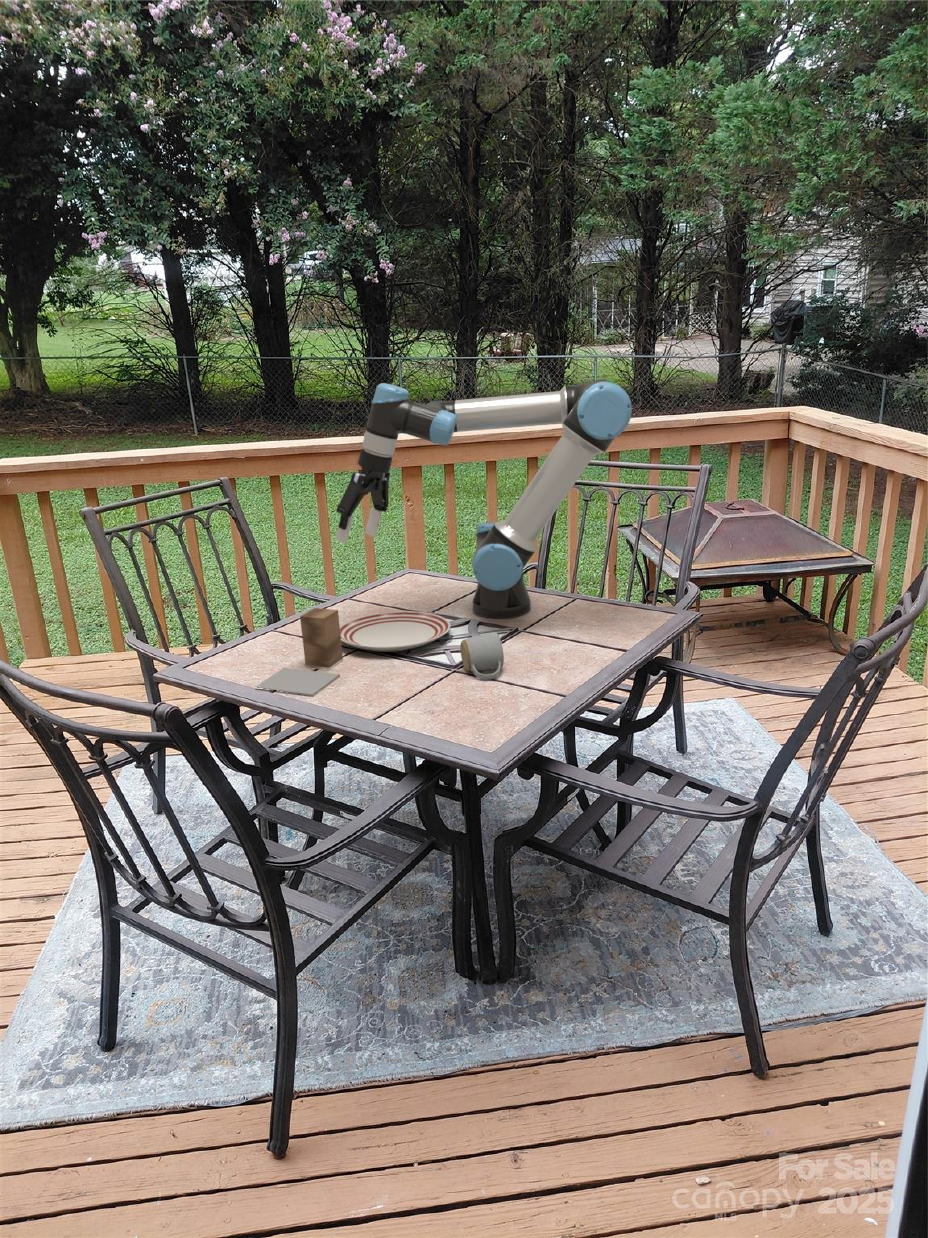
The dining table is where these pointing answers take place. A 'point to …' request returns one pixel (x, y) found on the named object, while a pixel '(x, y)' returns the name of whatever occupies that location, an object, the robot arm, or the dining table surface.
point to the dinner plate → (393, 630)
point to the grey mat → (298, 681)
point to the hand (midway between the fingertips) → (355, 538)
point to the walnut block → (321, 638)
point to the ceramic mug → (482, 654)
